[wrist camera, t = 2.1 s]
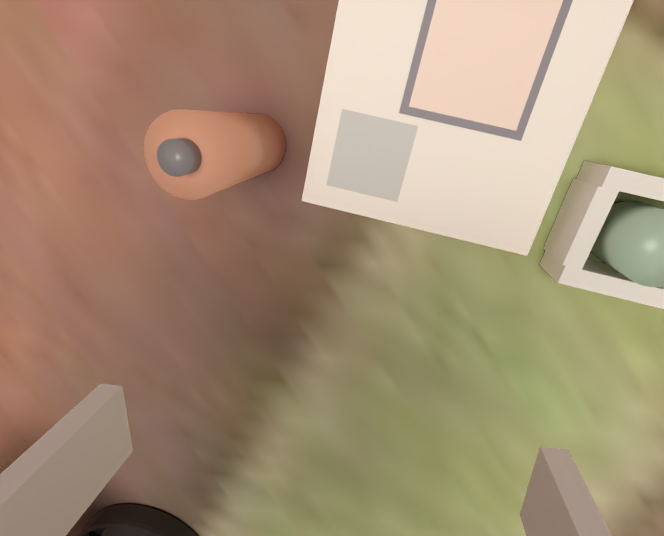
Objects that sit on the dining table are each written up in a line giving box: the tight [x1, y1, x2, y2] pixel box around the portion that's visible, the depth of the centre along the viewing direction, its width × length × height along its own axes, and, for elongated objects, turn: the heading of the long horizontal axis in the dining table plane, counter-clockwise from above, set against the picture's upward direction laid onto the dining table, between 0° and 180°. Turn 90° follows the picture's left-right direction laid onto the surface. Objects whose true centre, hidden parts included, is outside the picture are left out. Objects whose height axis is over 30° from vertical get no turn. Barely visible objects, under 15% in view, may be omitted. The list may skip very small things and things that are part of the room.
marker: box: [144, 110, 286, 200], centre depth 23 cm, size 4×4×12 cm
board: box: [302, 0, 633, 256], centre depth 25 cm, size 16×20×1 cm
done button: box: [591, 201, 664, 287], centre depth 24 cm, size 4×4×4 cm
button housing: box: [539, 161, 664, 309], centre depth 26 cm, size 7×7×4 cm
